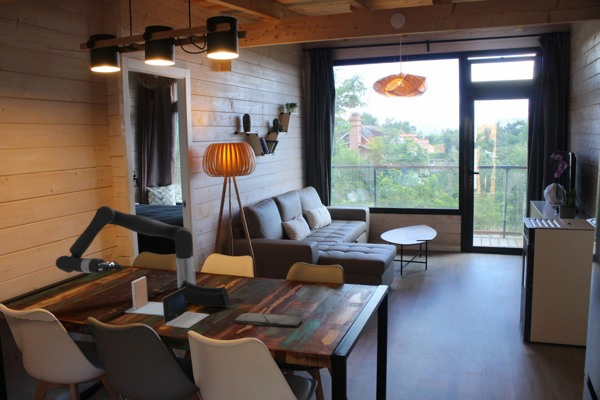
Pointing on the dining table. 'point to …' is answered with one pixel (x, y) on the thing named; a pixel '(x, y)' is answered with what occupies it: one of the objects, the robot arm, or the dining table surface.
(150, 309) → the mat
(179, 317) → the laptop
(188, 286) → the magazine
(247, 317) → the stone slab
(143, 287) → the tile
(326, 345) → the dining table surface
